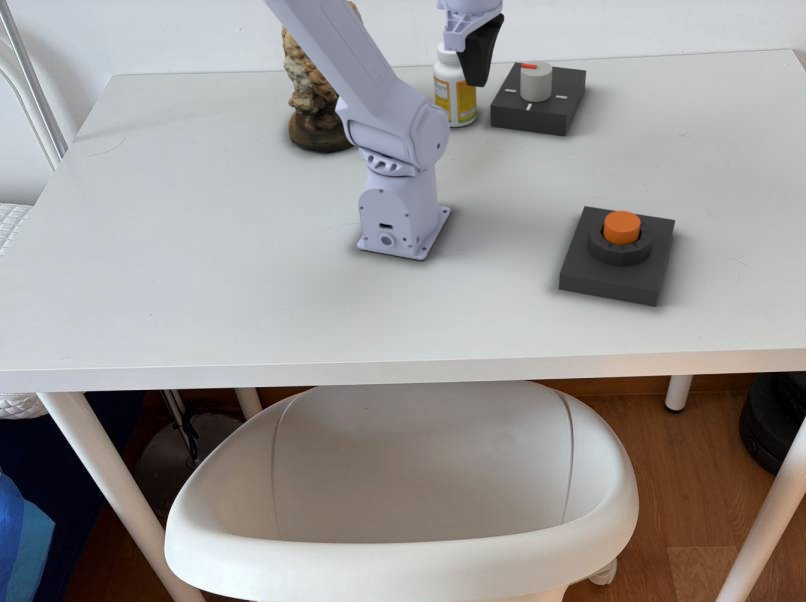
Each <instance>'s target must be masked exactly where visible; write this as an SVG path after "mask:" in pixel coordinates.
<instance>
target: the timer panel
mask: <svg viewBox="0 0 806 602" xmlns="http://www.w3.org/2000/svg"><path fill="white" fill-rule="evenodd" d="M522 63H523V64H525V63H526V62H516V61H515V62H514V63H513V65H512V67H511V69H510V70H509V72H508V73H507V75H506V77H505V79H504V81H503V83H502V84H501V86H500V87H499V90H498V91H497V93H496V94H495V97H494V98H493V100H492V101H491V103H490V105H489V107H490V108H489V109H490V110H489V111H490V113H489V114H490V127H493V128H494V127H495V128H501V129H510V130H516V131H524V132H530V133H538V134H544V135H553V136H560V137H566V136H567V133H568V131H569V129H570V126H571V123H572V122H573V119H574V117H575V115H576V112H577V110H578V108H579V105H580V104H581V101H582V98H583V96H584V94H585V92H586V91H585V90H586V82H587V81H586V79H587V70H586V69H578V68H569V67H561V66H552V65H551V66H552V88H551V96H550V98H548V99H547V100H544V101H540V102H531V101H527V100H525V99H523V98H522V97H521V95H520V87H521V65H522Z"/></svg>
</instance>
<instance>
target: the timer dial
mask: <svg viewBox="0 0 806 602" xmlns="http://www.w3.org/2000/svg"><path fill="white" fill-rule="evenodd" d="M521 63H522V65H521V87H520V95H521V97H522V98H523V99H525V100H527V101H531V102H540V101H544V100H547V99H548V98H550V96H551V88H552V65H551V64H550V63H548V62H546V61H542V60H532V61H528V62H521ZM523 63H525V64H523Z"/></svg>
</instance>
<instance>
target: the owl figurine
mask: <svg viewBox="0 0 806 602" xmlns="http://www.w3.org/2000/svg"><path fill="white" fill-rule="evenodd" d="M347 1H348V3H349V4H350V6H351V7H352V9H353V10H354V12H355V13H356V15H357V16H358V18H359V19H360V21H361V22H362V24H363V25H364V21H363V18H362V15H361V13H360V12H359V9H358V7H357V6H356V5H357V4H355V3H354V2H353V1H350V0H347ZM281 25H282V24H281ZM280 34H281V38H282V39H281V40H282V48H283V52H284V60H283V69H284V70H285V71H286V74H287V76H288V78H289V79H290V81H291V82H292V84H293V88H294V91H293V92H292V94H291V97H290V98H289V99H288V101H287V103H288V106H290V107H291V108H294V109H295V111H294V113H293V114H292V116H291V117H290V119H289V122H288V136H289V138H290V140H291V142H292V143H293V144H295V145H296V146H297V147H298V148H299V149H300V148H302V149H309V150H314V151H315V150H316V151H319V152H327V153H329V152H336V151H341V150H344V149H345V150H346V149H348V148H350V147H352V146H354V145H353V144H352V143H350V141H349V140H348V139H347V137H346V134H345V130H344V126H343V122H342V120H341V118H340V116H339V115H338V114H337V113H336V111H335V109H336V105H337V102H338V98H339V95H338V93H337V92H336V91H335V90H334V88H333V87H332V86H331V85H330V83H329V82H328V81H327V80H326V78H325V77H324V76H323V75H322V73H321V72H320V71H319V70H318V68H317V67H316V66H315V65H314V63H313V62H312V61H311V60H310V58H309V57H308V56H307V55H306V53H305V52H304V51H303V50H302V48H301V47H300V46H299V45H298V43H297V42H296V41H295V40H294V38H293V37H292V36H291V35H290V33H289V32H288V31H287V30H286V28H285V27H284V26H283V25H282V26H281V33H280ZM320 109H321V111H320Z"/></svg>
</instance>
